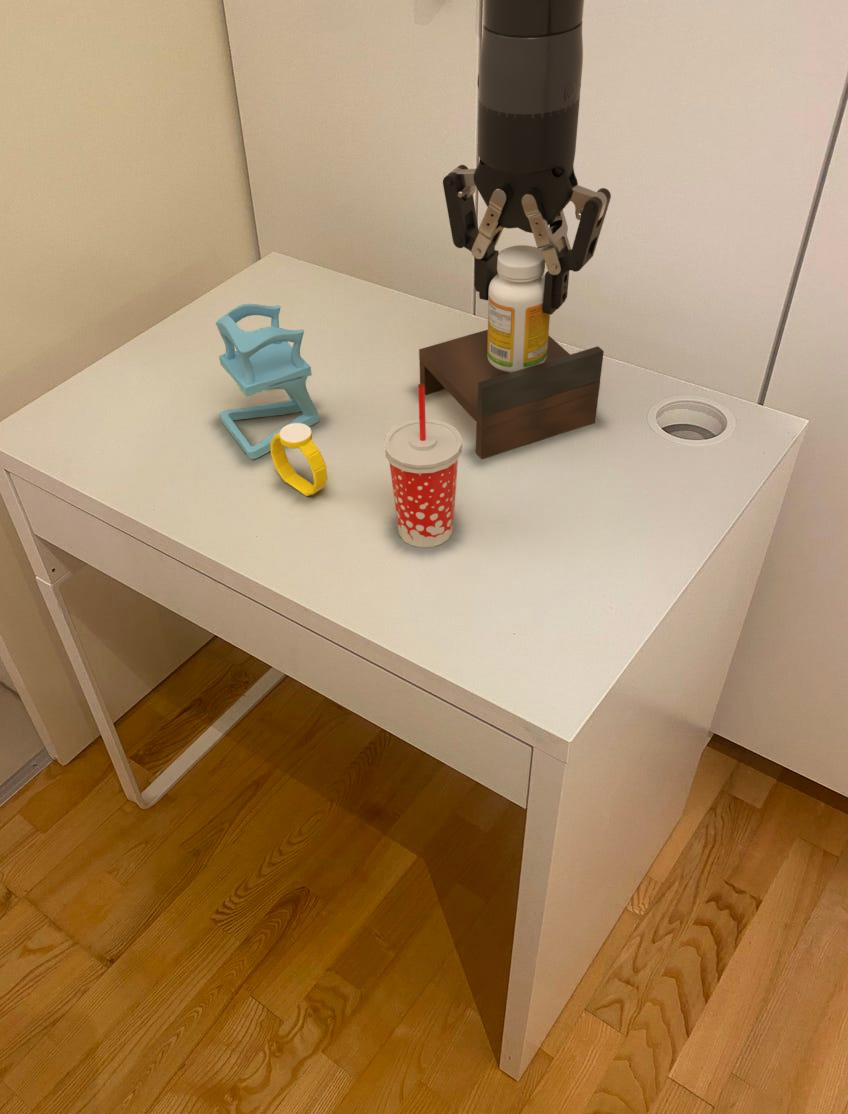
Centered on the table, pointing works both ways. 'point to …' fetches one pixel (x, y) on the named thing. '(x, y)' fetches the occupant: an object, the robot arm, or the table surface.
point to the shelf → (514, 391)
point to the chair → (264, 371)
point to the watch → (302, 439)
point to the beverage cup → (424, 477)
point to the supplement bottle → (517, 310)
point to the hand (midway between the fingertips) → (519, 302)
